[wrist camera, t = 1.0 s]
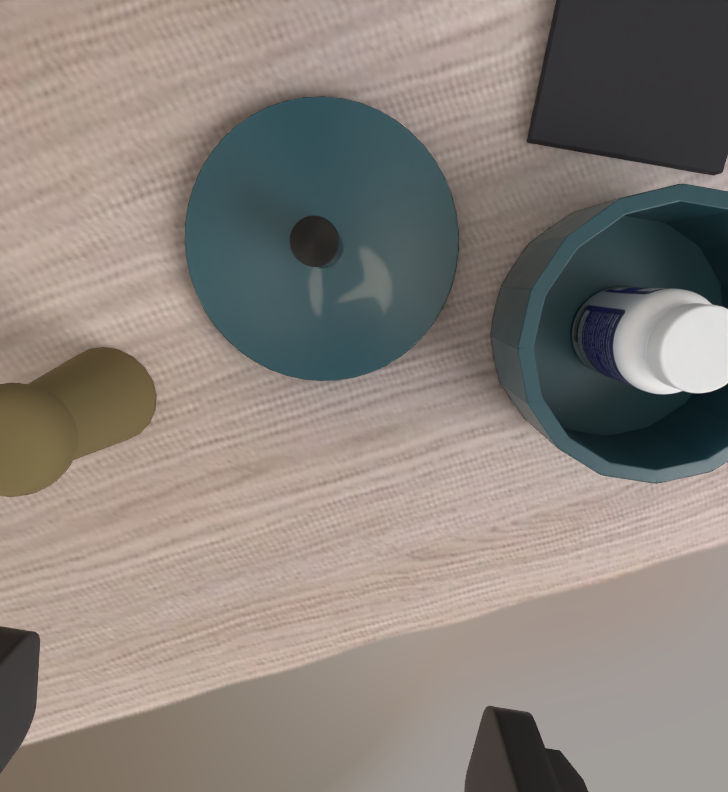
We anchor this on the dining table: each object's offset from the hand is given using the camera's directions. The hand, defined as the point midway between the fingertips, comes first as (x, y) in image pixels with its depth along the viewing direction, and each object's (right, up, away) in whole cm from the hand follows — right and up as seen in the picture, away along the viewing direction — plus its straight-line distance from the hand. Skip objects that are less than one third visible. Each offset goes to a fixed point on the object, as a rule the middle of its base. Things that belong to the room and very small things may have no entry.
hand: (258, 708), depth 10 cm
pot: (+17, +10, +23) cm, 30 cm away
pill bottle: (+17, +10, +23) cm, 30 cm away
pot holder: (+17, +24, +20) cm, 36 cm away
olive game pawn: (-14, +6, +24) cm, 29 cm away
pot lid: (-1, +14, +22) cm, 26 cm away
